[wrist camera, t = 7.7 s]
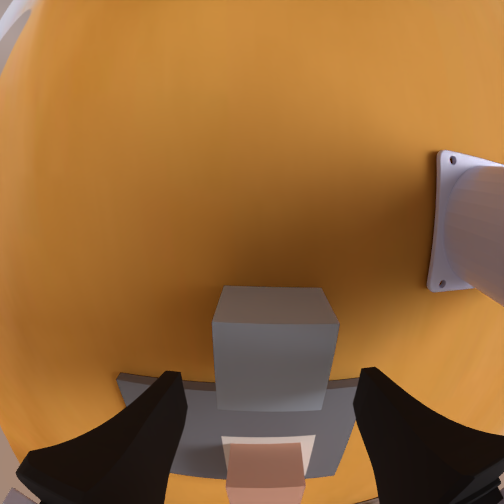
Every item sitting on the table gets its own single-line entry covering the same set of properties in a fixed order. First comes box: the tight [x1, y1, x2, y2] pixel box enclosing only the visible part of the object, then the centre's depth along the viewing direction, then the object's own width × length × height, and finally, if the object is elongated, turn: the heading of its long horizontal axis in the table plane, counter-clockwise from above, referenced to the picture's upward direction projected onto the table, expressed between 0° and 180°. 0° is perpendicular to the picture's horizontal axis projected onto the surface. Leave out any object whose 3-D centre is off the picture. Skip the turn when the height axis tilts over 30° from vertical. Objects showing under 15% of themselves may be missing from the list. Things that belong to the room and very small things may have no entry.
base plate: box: [116, 373, 359, 479], centre depth 17 cm, size 16×12×1 cm
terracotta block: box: [226, 442, 305, 504], centre depth 15 cm, size 5×5×4 cm
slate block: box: [212, 285, 340, 412], centre depth 13 cm, size 5×5×4 cm
